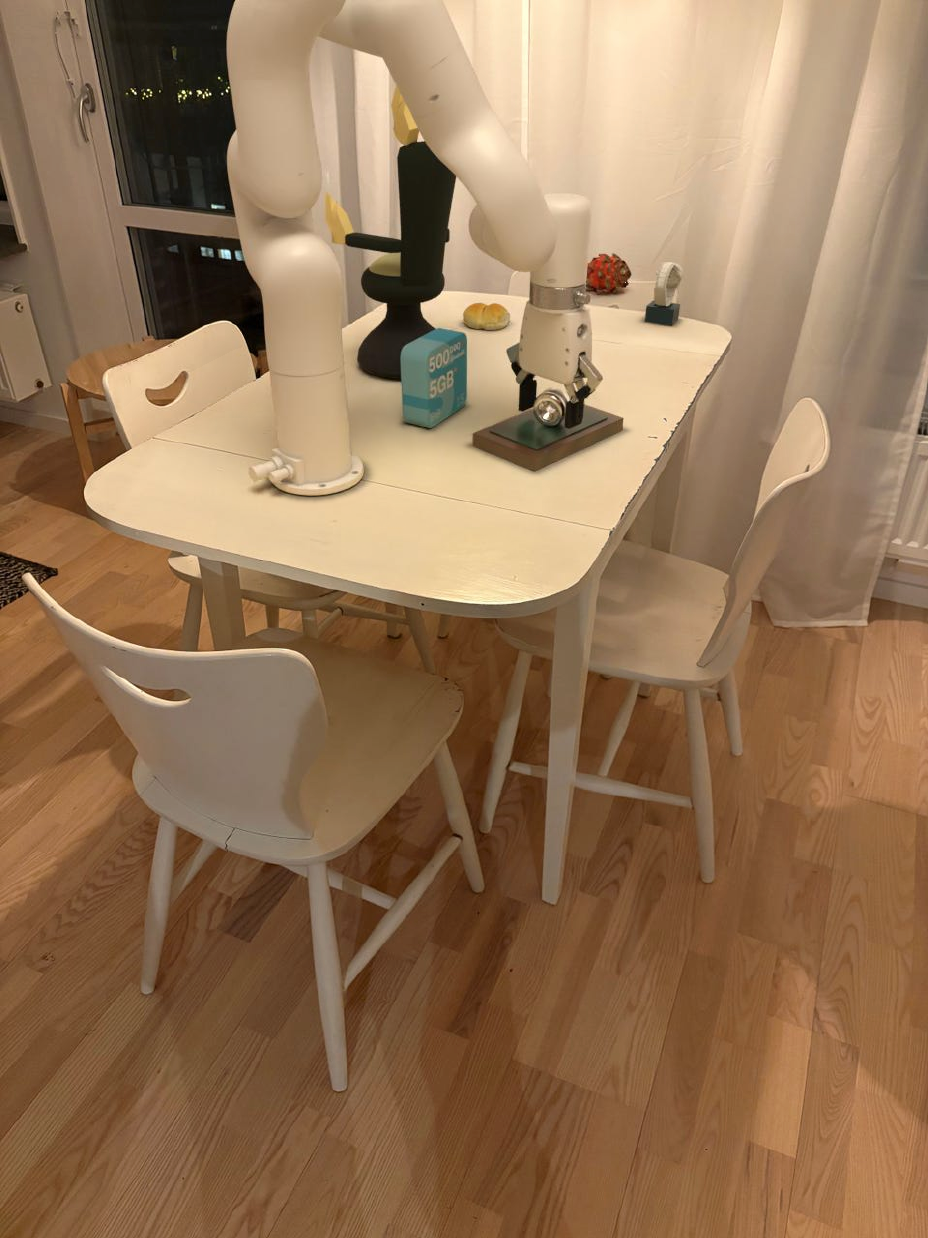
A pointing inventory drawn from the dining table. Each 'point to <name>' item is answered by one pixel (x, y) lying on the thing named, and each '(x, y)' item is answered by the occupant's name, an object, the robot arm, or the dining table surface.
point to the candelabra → (403, 248)
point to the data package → (434, 377)
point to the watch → (665, 295)
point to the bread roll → (486, 316)
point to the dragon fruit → (607, 273)
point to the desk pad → (544, 437)
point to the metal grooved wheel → (544, 410)
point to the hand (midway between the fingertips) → (549, 416)
